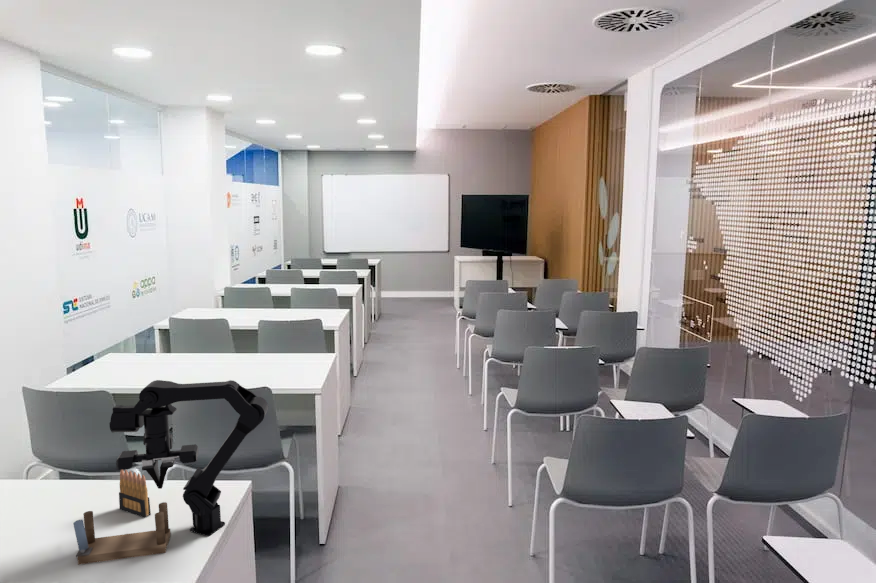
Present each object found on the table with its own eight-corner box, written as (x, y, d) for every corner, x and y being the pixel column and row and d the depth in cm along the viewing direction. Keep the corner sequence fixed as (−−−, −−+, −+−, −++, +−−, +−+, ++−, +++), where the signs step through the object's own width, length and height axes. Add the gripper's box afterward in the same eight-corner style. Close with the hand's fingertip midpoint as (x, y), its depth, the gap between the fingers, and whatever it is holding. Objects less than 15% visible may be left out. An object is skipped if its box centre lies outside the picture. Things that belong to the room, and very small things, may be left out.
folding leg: (90, 547, 144) (84, 518, 143) (87, 552, 142) (81, 523, 141) (81, 549, 144) (75, 520, 143) (78, 554, 142) (71, 525, 140)
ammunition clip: (151, 515, 165) (148, 474, 163) (145, 518, 163) (142, 476, 162) (125, 506, 170) (122, 466, 168) (119, 509, 168) (116, 469, 166)
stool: (170, 535, 154) (168, 500, 153) (165, 552, 147) (163, 516, 145) (86, 546, 149) (83, 510, 148) (76, 565, 142) (73, 527, 140)
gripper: (199, 416, 163) (202, 470, 165) (123, 423, 158) (127, 478, 160) (194, 431, 152) (197, 488, 155) (113, 438, 147) (118, 498, 149)
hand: (160, 487), depth 155 cm, fingers closed
